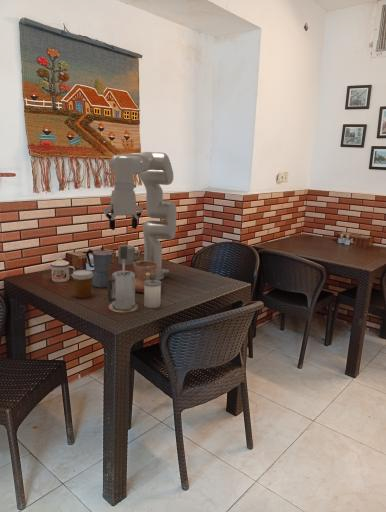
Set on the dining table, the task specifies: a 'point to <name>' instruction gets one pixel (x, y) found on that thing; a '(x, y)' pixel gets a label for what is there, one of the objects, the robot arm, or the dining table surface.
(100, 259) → the moka pot
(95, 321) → the dining table surface
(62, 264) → the teacup with lid
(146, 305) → the cream press
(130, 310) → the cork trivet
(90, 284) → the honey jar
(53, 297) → the dining table surface
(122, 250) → the plunger
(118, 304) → the steel press
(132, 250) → the coffee mug
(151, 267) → the ceramic jug
